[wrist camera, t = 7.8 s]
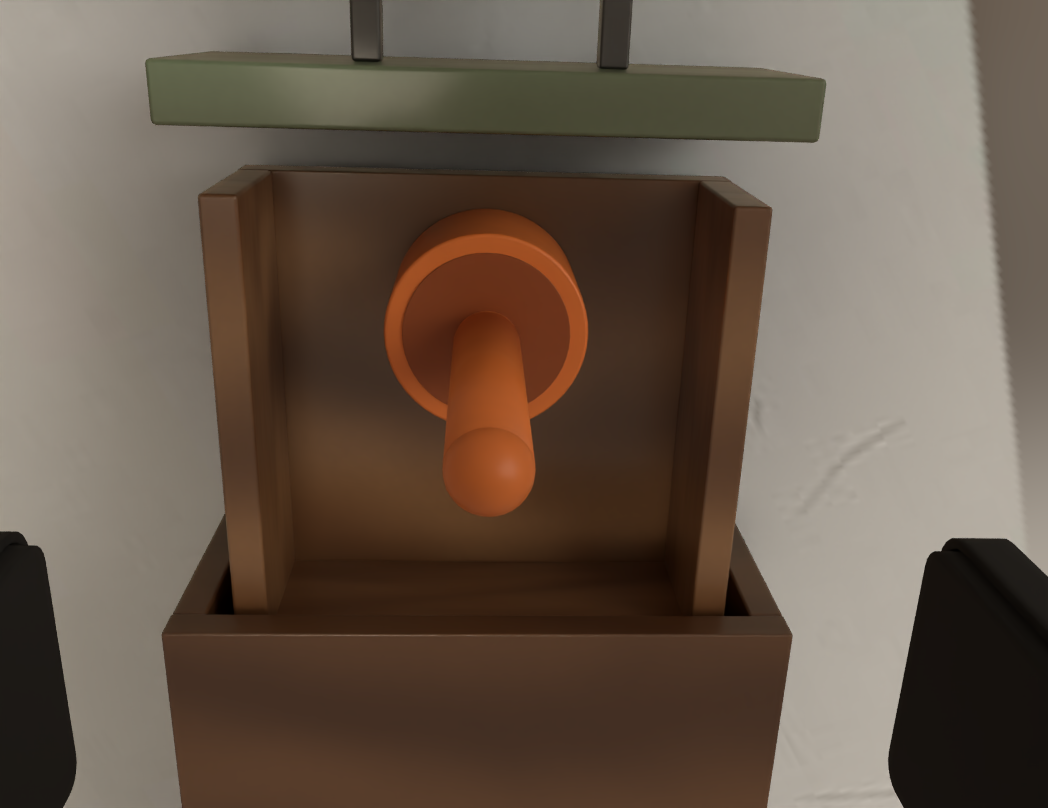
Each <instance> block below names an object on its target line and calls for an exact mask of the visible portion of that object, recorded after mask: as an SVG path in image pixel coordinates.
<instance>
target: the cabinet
mask: <svg viewBox="0 0 1048 808" xmlns="http://www.w3.org/2000/svg"><path fill="white" fill-rule="evenodd" d="M792 637H793V635H792V633H791V631H790V629H789V627H788V625H787V623H786V621H785V619H784V617H782V615H781V612H780V611H779V609H778V607H777V605H776V603H775V601H774V599H773V597H772V595H771V593H770V591H769V589H768V587H767V585H766V583H765V581H764V579H763V577H762V575H761V573H760V571H759V569H758V567H757V565H756V563H755V561H754V559H753V557H752V555H751V553H750V551H749V549H748V547H747V545H746V543H745V541H744V539H743V538H742V536H741V534H740V532H739V530H738V528H737V526H736V524H735V527H734V535H733V544H732V552H731V560H730V569H729V577H728V585H727V594H726V602H725V610H724V616H499V615H234V608H233V597H232V585H231V574H230V562H229V551H228V539H227V528H226V516H225V514H224V516H223V518H222V520H221V522H220V524H219V526H218V528H217V530H216V532H215V534H214V535H213V537H212V539H211V541H210V543H209V545H208V547H207V549H206V551H205V553H204V555H203V557H202V559H201V561H200V562H199V564H198V566H197V568H196V570H195V572H194V574H193V576H192V578H191V580H190V582H189V584H188V586H187V588H186V589H185V591H184V593H183V595H182V597H181V599H180V601H179V603H178V605H177V607H176V609H175V611H174V613H173V615H171V617H170V619H169V621H168V623H167V624H166V626H165V628H164V630H163V632H162V642H163V651H164V659H165V668H166V676H167V685H168V693H169V701H170V710H171V718H172V727H173V735H174V744H175V752H176V760H177V769H178V777H179V786H180V794H181V803H182V808H767V803H768V796H769V790H770V783H771V776H772V770H773V763H774V756H775V750H776V743H777V736H778V730H779V723H780V716H781V710H782V703H783V697H784V690H785V683H786V677H787V670H788V663H789V657H790V650H791V643H792Z"/></svg>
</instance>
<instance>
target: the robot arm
mask: <svg viewBox="0 0 1048 808" xmlns="http://www.w3.org/2000/svg"><path fill="white" fill-rule="evenodd" d="M76 763H77V762H76V751H75V745H74V739H73V732H72V726H71V720H70V713H69V707H68V701H67V694H66V688H65V682H64V675H63V669H62V662H61V656H60V650H59V643H58V637H57V631H56V624H55V618H54V612H53V605H52V599H51V593H50V586H49V580H48V574H47V567H46V561H45V557H44V553H43V552H42V550H41V548H40V547H38V546H28V544H27V541H26V540H25V538H24V536H23V535H22V534H21V533H19V532H1V531H0V808H63V807H64V805H65V803H66V801H67V799H68V797H69V795H70V793H71V790H72V787H73V784H74V780H75V774H76ZM888 766H889V774H890V779H891V782H892V786H893V788H894V790H895V793H896V794H897V796H898V798H899V800H900V802H901V804H902V805H903V807H904V808H1048V576H1047V575H1045V574H1044V573H1043V572H1042V571H1041V570H1040V569H1039V568H1038V567H1037V566H1036V565H1035V564H1034V563H1033V562H1032V561H1031V560H1030V559H1029V558H1028V557H1027V556H1026V555H1025V554H1024V553H1023V552H1022V551H1021V550H1019V549H1018V548H1017V547H1016V546H1015V545H1014V544H1013V543H1012V542H1010V541H1009V540H1007V539H982V538H952V539H950V540H948V541H947V542H946V543H945V545H944V547H943V548H942V551H934V552H933V553H931V554H930V555H929V557H928V559H927V562H926V565H925V570H924V575H923V580H922V585H921V590H920V595H919V600H918V605H917V611H916V616H915V621H914V626H913V631H912V636H911V641H910V647H909V652H908V657H907V662H906V667H905V672H904V677H903V682H902V688H901V693H900V698H899V703H898V708H897V713H896V718H895V724H894V729H893V734H892V739H891V744H890V749H889V757H888Z"/></svg>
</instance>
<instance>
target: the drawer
mask: <svg viewBox="0 0 1048 808" xmlns="http://www.w3.org/2000/svg"><path fill="white" fill-rule="evenodd" d="M632 4H633V0H600V10H599V29H598V47H597V63H582V62H550V61H517V60H484V59H451V58H419V57H386V56H383V7H382V0H350V28H351V55H321V54H288V53H255V52H223V51H209V52H201V53H192V54H183V55H174V56H166V57H157V58H149V59H147V60H146V62H145V67H146V77H147V87H148V97H149V107H150V117H151V121H152V123H153V124H155V125H176V126H214V127H251V128H288V129H325V130H362V131H399V132H436V133H473V134H511V135H548V136H585V137H622V138H659V139H696V140H733V141H771V142H808V143H814V142H817V141H818V139H819V134H820V127H821V119H822V112H823V104H824V97H825V89H826V81H825V80H824V79H822V78H816V77H810V76H804V75H798V74H792V73H786V72H780V71H775V70H769V69H763V68H746V67H713V66H680V65H648V64H629V50H630V35H631V20H632ZM198 206H199V218H200V229H201V241H202V252H203V264H204V275H205V287H206V298H207V310H208V321H209V333H210V344H211V356H212V367H213V379H214V390H215V402H216V413H217V424H218V436H219V447H220V459H221V470H222V482H223V493H224V505H225V516H226V528H227V539H228V551H229V562H230V574H231V585H232V597H233V608H234V615H499V616H724V610H725V602H726V594H727V585H728V577H729V569H730V560H731V552H732V544H733V535H734V527H735V519H736V510H737V502H738V494H739V485H740V477H741V468H742V460H743V452H744V443H745V435H746V427H747V418H748V410H749V402H750V393H751V385H752V377H753V368H754V360H755V352H756V343H757V335H758V327H759V318H760V310H761V302H762V293H763V285H764V277H765V268H766V260H767V251H768V243H769V235H770V226H771V218H772V208H771V207H770V206H768V205H767V204H765V203H763V202H762V201H760V200H759V199H757V198H756V197H754V196H753V195H751V194H749V193H748V192H746V191H745V190H743V189H742V188H740V187H739V186H737V185H735V184H734V183H732V182H731V181H730V180H728V179H727V178H725V177H721V176H682V175H642V174H602V173H562V172H522V171H483V170H443V169H403V168H363V167H323V166H283V165H244V166H243V167H241V168H239V169H238V171H236V172H234V173H233V174H231V175H229V176H228V177H226V178H225V179H223V180H221V181H220V182H218V183H216V184H215V185H213V186H212V187H210V188H208V189H207V190H205V191H203V192H202V193H200V194H199V195H198ZM473 209H497V210H503V211H508V212H512V213H515V214H517V215H520V216H523V217H525V218H527V219H529V220H530V221H532V222H534V223H536V224H537V225H538V226H540V227H541V228H543V229H544V230H545V231H546V232H547V233H548V234H549V235H550V236H552V237H553V239H554V240H555V241H556V242H557V243H558V245H559V246H560V247H561V249H562V250H563V252H564V254H565V255H566V257H567V259H568V261H569V264H570V266H571V268H572V271H573V274H574V276H575V279H576V282H577V285H578V287H579V290H580V293H581V296H582V298H583V302H584V305H585V309H586V313H587V320H588V341H587V349H586V353H585V357H584V360H583V363H582V365H581V368H580V370H579V373H578V374H577V376H576V378H575V380H574V381H573V383H572V385H571V386H570V387H569V388H568V390H567V391H566V392H565V394H564V395H563V396H562V397H561V398H560V399H559V400H558V401H557V402H556V403H554V404H553V405H552V406H551V407H549V408H548V409H547V410H545V411H544V412H542V413H540V414H539V415H537V416H535V417H534V418H531V419H530V426H531V434H532V442H533V450H534V458H535V469H536V471H535V479H534V484H533V487H532V489H531V491H530V493H529V494H528V496H527V498H526V499H525V500H524V501H523V503H522V504H521V505H520V506H518V507H517V508H516V509H514V510H513V511H511V512H509V513H506V514H504V515H500V516H495V517H483V516H478V515H474V514H471V513H469V512H467V511H465V510H463V509H462V508H461V507H459V506H458V505H457V504H456V503H455V502H454V500H453V499H452V498H451V497H450V495H449V493H448V492H447V490H446V487H445V484H444V480H443V472H442V467H443V455H444V444H445V432H446V421H445V420H443V419H441V418H439V417H437V416H435V415H433V414H432V413H430V412H429V411H427V410H425V409H424V408H423V407H422V406H420V405H419V404H418V403H417V402H415V401H414V400H413V399H412V397H411V396H410V395H409V394H408V393H407V392H406V391H405V390H404V388H403V387H402V385H401V384H400V383H399V381H398V380H397V378H396V376H395V374H394V372H393V370H392V368H391V365H390V362H389V360H388V357H387V352H386V348H385V341H384V319H385V314H386V308H387V305H388V302H389V299H390V295H391V292H392V289H393V286H394V283H395V280H396V277H397V274H398V271H399V268H400V265H401V263H402V261H403V259H404V257H405V255H406V253H407V251H408V250H409V248H410V247H411V245H412V244H413V243H414V242H415V241H416V239H417V238H418V237H419V236H420V235H421V234H422V233H423V232H424V231H426V230H427V229H428V228H429V227H430V226H432V225H433V224H435V223H437V222H438V221H440V220H442V219H444V218H446V217H448V216H450V215H453V214H456V213H459V212H462V211H467V210H473Z"/></svg>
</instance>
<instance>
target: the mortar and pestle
mask: <svg viewBox="0 0 1048 808" xmlns="http://www.w3.org/2000/svg"><path fill="white" fill-rule="evenodd" d="M384 341H385V348H386V352H387V357H388V360H389V362H390V365H391V368H392V370H393V372H394V374H395V376H396V378H397V380H398V381H399V383H400V384H401V385H402V387H403V388H404V390H405V391H406V392H407V393H408V394H409V395H410V396H411V397H412V399H413V400H414V401H415V402H417V403H418V404H419V405H420V406H422V407H423V408H424V409H425V410H427V411H429V412H430V413H432V414H433V415H435V416H437V417H439V418H441V419H443V420H445V421H446V432H445V444H444V455H443V467H442V472H443V480H444V484H445V487H446V490H447V492H448V493H449V495H450V497H451V498H452V499H453V500H454V502H455V503H456V504H457V505H458V506H459V507H461V508H462V509H463V510H465V511H467V512H469V513H471V514H474V515H478V516H483V517H495V516H500V515H504V514H506V513H509V512H511V511H513V510H514V509H516V508H517V507H518V506H520V505H521V504H522V503H523V501H524V500H525V499H526V498H527V496H528V494H529V493H530V491H531V489H532V487H533V484H534V479H535V471H536V469H535V458H534V450H533V442H532V434H531V426H530V419H531V418H534V417H535V416H537V415H539V414H540V413H542V412H544V411H545V410H547V409H548V408H549V407H551V406H552V405H553V404H554V403H556V402H557V401H558V400H559V399H560V398H561V397H562V396H563V395H564V394H565V392H566V391H567V390H568V388H569V387H570V386H571V385H572V383H573V381H574V380H575V378H576V376H577V374H578V373H579V370H580V368H581V365H582V363H583V360H584V357H585V353H586V349H587V341H588V320H587V313H586V309H585V305H584V302H583V298H582V296H581V293H580V290H579V287H578V285H577V282H576V279H575V276H574V274H573V271H572V268H571V266H570V264H569V261H568V259H567V257H566V255H565V254H564V252H563V250H562V249H561V247H560V246H559V245H558V243H557V242H556V241H555V240H554V239H553V237H552V236H550V235H549V234H548V233H547V232H546V231H545V230H544V229H543V228H541V227H540V226H538V225H537V224H536V223H534V222H532V221H530V220H529V219H527V218H525V217H523V216H520V215H517V214H515V213H512V212H508V211H503V210H497V209H473V210H467V211H462V212H459V213H456V214H453V215H450V216H448V217H446V218H444V219H442V220H440V221H438V222H437V223H435V224H433V225H432V226H430V227H429V228H428V229H427V230H426V231H424V232H423V233H422V234H421V235H420V236H419V237H418V238H417V239H416V241H415V242H414V243H413V244H412V245H411V247H410V248H409V250H408V251H407V253H406V255H405V257H404V259H403V261H402V263H401V265H400V268H399V271H398V274H397V277H396V280H395V283H394V286H393V289H392V292H391V295H390V299H389V302H388V305H387V308H386V314H385V319H384Z"/></svg>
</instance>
